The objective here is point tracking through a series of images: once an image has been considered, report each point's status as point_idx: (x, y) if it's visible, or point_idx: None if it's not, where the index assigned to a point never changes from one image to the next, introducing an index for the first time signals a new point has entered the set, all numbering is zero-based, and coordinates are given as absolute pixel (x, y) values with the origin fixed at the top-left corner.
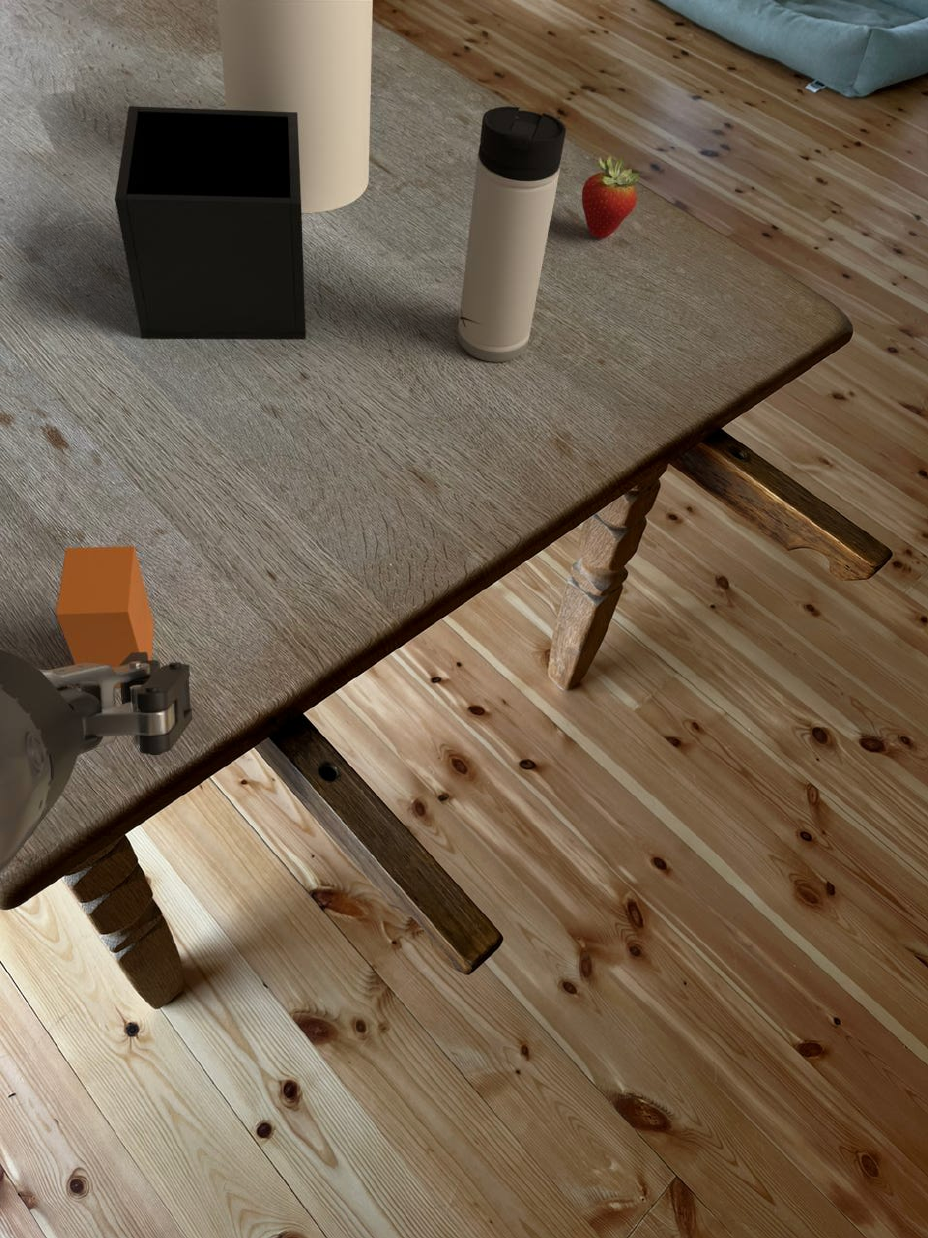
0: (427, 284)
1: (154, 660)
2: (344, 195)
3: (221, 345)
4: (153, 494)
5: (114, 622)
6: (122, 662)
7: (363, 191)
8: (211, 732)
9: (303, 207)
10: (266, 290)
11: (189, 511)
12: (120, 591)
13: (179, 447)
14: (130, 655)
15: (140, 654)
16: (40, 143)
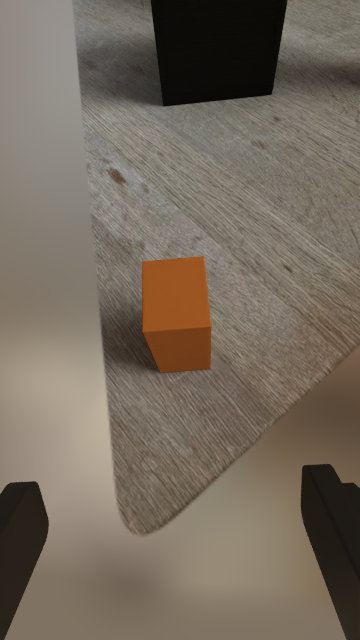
0: (346, 50)
1: (350, 484)
2: None
3: (215, 105)
4: (187, 210)
5: (195, 334)
6: (353, 564)
7: (287, 1)
8: (268, 412)
9: None
10: (252, 51)
11: (215, 221)
12: (199, 304)
13: (200, 175)
14: (323, 493)
15: (338, 487)
16: (89, 5)
